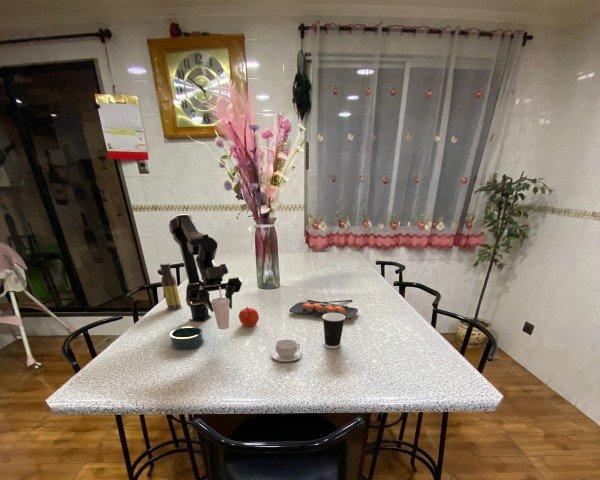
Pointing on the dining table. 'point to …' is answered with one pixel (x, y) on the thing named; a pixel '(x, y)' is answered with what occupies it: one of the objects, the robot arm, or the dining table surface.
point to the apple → (248, 317)
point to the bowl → (186, 338)
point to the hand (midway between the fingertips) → (222, 310)
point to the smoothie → (221, 311)
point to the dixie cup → (333, 329)
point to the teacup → (286, 350)
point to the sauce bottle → (170, 287)
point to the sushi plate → (323, 309)
